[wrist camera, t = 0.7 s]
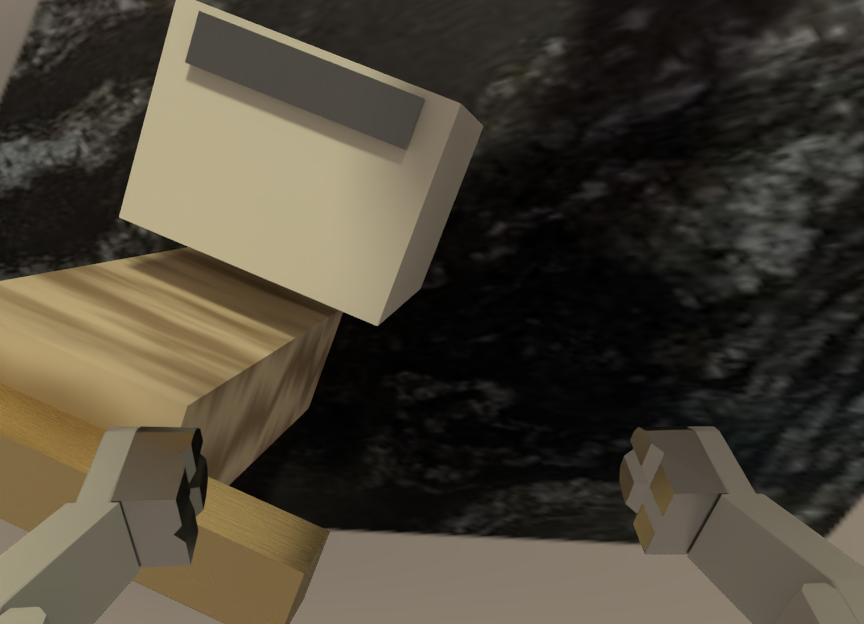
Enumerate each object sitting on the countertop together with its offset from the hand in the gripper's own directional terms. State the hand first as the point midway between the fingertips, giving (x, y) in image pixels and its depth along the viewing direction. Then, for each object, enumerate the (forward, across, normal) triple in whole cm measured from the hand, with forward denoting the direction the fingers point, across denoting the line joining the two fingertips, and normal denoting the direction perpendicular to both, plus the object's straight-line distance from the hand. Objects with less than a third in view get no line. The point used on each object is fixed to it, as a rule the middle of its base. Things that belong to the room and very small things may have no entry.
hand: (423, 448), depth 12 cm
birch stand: (+38, +10, +28) cm, 48 cm away
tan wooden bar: (+14, +13, +18) cm, 26 cm away
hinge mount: (+42, +2, +14) cm, 45 cm away
